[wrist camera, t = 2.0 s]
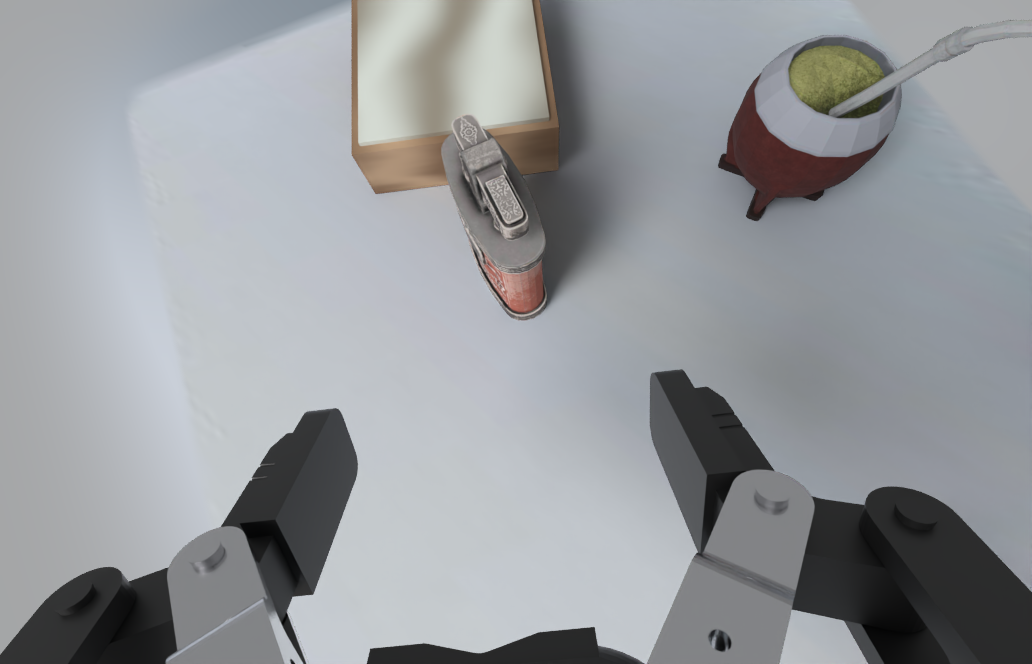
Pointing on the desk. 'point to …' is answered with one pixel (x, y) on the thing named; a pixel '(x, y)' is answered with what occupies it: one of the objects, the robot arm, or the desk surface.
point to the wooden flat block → (448, 85)
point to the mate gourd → (828, 111)
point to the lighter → (497, 217)
